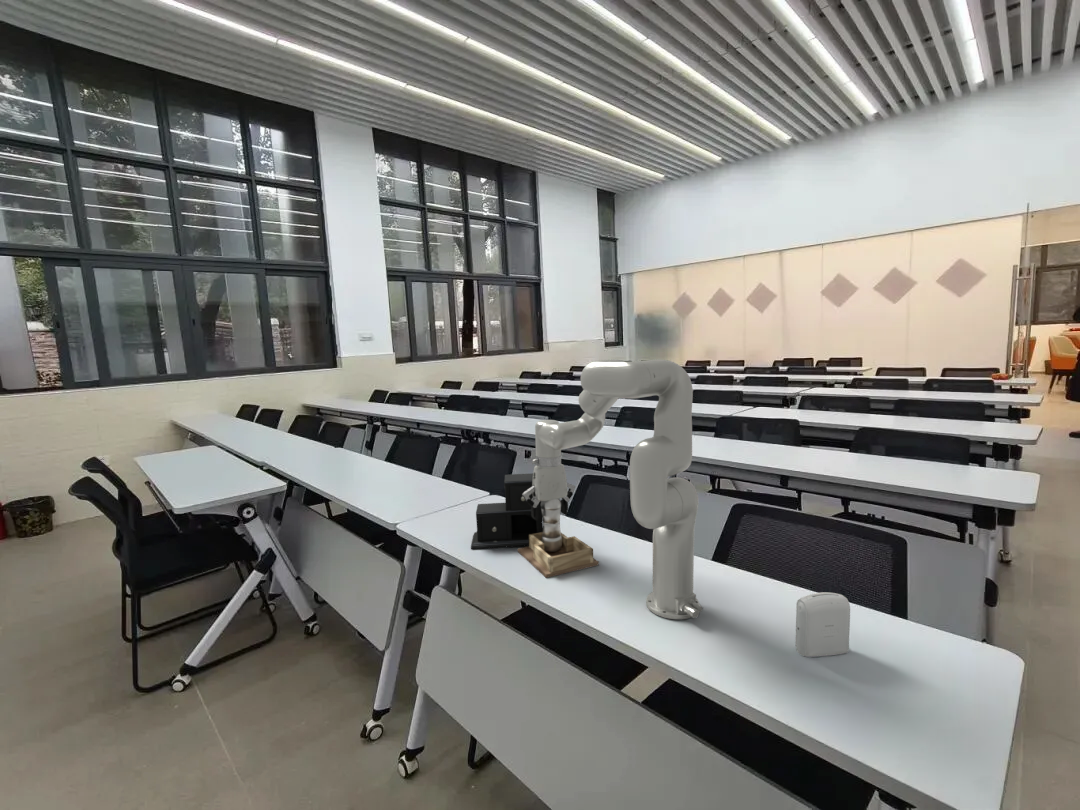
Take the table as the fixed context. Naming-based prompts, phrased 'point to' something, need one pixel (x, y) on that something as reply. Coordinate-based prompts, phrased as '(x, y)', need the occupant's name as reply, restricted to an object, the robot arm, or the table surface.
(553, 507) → the plastic bottle
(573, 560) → the keyhole plate
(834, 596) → the photo printer
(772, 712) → the table surface
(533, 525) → the black drawer cabinet
